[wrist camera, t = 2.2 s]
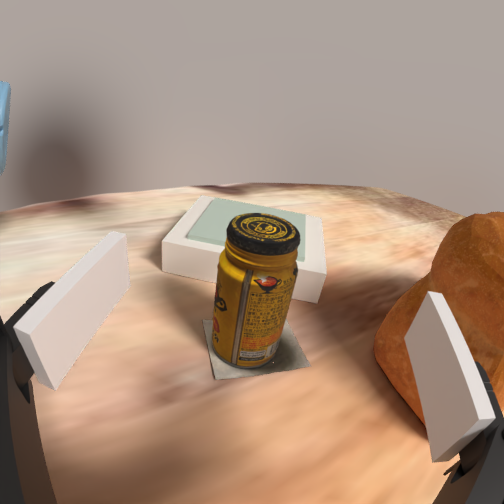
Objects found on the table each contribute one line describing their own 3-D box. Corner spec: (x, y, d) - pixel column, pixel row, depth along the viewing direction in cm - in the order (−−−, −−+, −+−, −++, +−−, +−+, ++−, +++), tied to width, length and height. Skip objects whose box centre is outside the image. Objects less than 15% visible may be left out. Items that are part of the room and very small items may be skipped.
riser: (162, 271, 36) (161, 236, 34) (199, 219, 49) (201, 191, 47) (317, 303, 35) (328, 269, 33) (315, 241, 48) (322, 214, 46)
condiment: (201, 321, 31) (210, 205, 24) (283, 315, 33) (310, 208, 27) (215, 381, 25) (229, 256, 19) (310, 368, 27) (353, 253, 21)
